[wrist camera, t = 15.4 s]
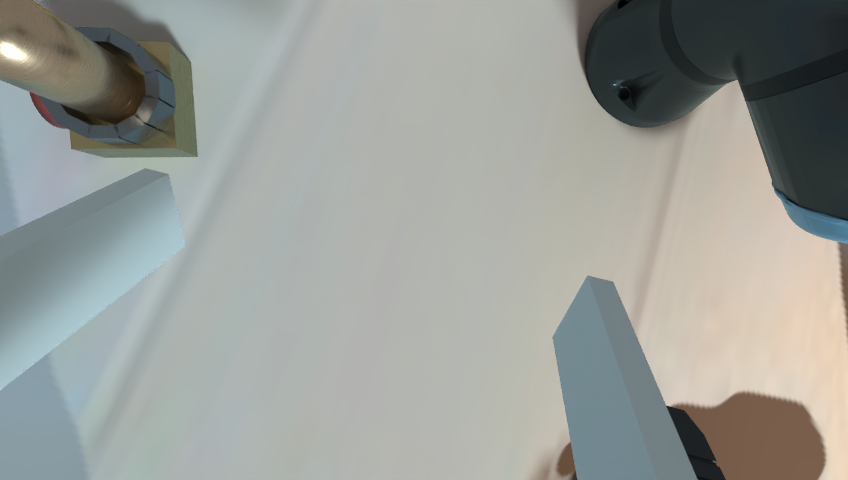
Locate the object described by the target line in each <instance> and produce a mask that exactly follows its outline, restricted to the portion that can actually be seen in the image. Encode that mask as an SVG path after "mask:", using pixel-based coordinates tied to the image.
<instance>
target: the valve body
mask: <svg viewBox="0 0 848 480" xmlns="http://www.w3.org/2000/svg"><path fill="white" fill-rule="evenodd" d="M75 29H76V30H77V31H79V32H80V33H82V34H83V35H84V36H86V37H87V38H89V39H90V40H92V41H93V42H95V43H96V44H98V45H99V46H101V47H102V48H104V49H105V50H107V51H108V52H110V53H111V54H113V55H114V56H115V57H117V58H118V59H120V60H121V61H123V62H124V63H126V64H127V65H129V66H130V67H132V68H133V69H135V70H136V71H138V72H139V73H140V74H141V75H143V76H144V79H145V92H146V96H145V98H144V100H143V101H142V103H141V105H140V107H139V109H138V110H137V112H136V114H135V115H133V116H131V117H130V118H128V119H126V120H124V121H122V122H120V123H118V124H117V125H114V124H111V123H108V122H105V121H103V120H100V119H98V118H95V117H93V116H90V115H88V114H85V113H83V112H80V111H78V110H75V109H73V108H70V107H67V106H65V105H62V104H60V103H57V102H55V101H52V100H50V99H47V98H45V97H42V96H40V95H37V94H34V93H32V92H30V96H31V98H32V101H33V103H34V105H35V107H36V109H37V110H38V112H39V113H40V114H41V115H42V117H43V118H44V119H45V120H46V121H48V122H49V123H50V124H52V125H54V126H56V127H58V128H63V129H69V130H70V140H71V149H73V150H77V151H81V152H85V153H89V154H93V155H97V156H101V157H105V158H106V157H198V156H197V142H196V128H195V114H194V100H193V86H192V72H191V62H190V61H189V60H188V59H187V58H186V57H184V56H183V55H182V54H181V53H180V52H179V51H178V50H177V49H176V48H175V47H174V46H173V45H171V44H170V43H169V42H158V41H133V40H131V39H129V38H127V37H126V36H124V35H122V34H120V33H118V32H117V31H115V30H113V29H112V30H111V29H110V28H89V27H79V29H78V28H75Z"/></svg>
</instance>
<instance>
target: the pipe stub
mask: <svg viewBox="0 0 848 480" xmlns="http://www.w3.org/2000/svg"><path fill="white" fill-rule="evenodd" d="M0 80H2V81H4V82H7V83H9V84H12V85H14V86H17V87H19V88H22V89H24V90H27V91H29V92H32V93H34V94H37V95H40V96H42V97H45V98H47V99H50V100H52V101H55V102H57V103H60V104H62V105H65V106H67V107H70V108H73V109H75V110H78V111H80V112H83V113H85V114H88V115H90V116H93V117H95V118H98V119H100V120H103V121H105V122H108V123H111V124H114V125H117V124H118V123H120V122H122V121H124V120H126V119H128V118H130V117H131V116H133V115H135V114H136V112H137V110H138V109H139V107H140V105H141V103H142V101H143V100H144V98H145V96H146V92H145V79H144V76H143V75H141V74H140V73H139V72H138V71H136V70H135V69H133V68H132V67H130V66H129V65H127V64H126V63H124V62H123V61H121V60H120V59H118V58H117V57H115V56H114V55H113V54H111V53H110V52H108V51H107V50H105V49H104V48H102V47H101V46H99V45H98V44H96V43H95V42H93V41H92V40H90V39H89V38H87V37H86V36H84V35H83V34H82V33H80V32H79V31H77V30H76V29H74V28H73V27H71V26H70V25H68V24H67V23H65V22H64V21H62V20H61V19H59V18H58V17H56V16H55V15H53V14H52V13H51V12H49V11H48V10H46V9H45V8H43V7H42V6H40V5H39V4H37V3H36V2H34V1H33V0H0Z"/></svg>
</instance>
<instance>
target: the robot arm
mask: <svg viewBox="0 0 848 480" xmlns="http://www.w3.org/2000/svg"><path fill="white" fill-rule="evenodd" d="M585 61H586V71H587V76H588V80H589V83H590V86H591V89H592V91H593V93H594V95H595V97H596V98H597V100H598V101H599V103H600V104H601V105H602V106H603V108H604V109H605V110H606V111H607V112H608V113H609V114H611V115H612V116H613V117H615V118H616V119H618V120H619V121H621V122H623V123H626V124H628V125H631V126H636V127H654V126H658V125H662V124H665V123H668V122H671V121H673V120H676V119H678V118H680V117H682V116H684V115H686V114H688V113H689V112H691V111H692V110H693V109H694V108H696V107H697V106H698V105H700V104H701V103H702V102H704V101H705V100H706V99H707V98H709V97H710V96H711V95H713V94H714V93H715V92H716V91H718V90H719V89H720V88H722V87H723V86H724V85H725V84H727V83H729V82H732V81H735V80H737V79H738V82H739V85H740V87H741V90H742V93H743V96H744V98H745V101H746V104H747V107H748V110H749V113H750V116H751V119H752V122H753V125H754V128H755V131H756V134H757V137H758V140H759V143H760V146H761V149H762V152H763V155H764V158H765V161H766V164H767V167H768V170H769V173H770V176H771V179H772V186H773V187H774V191H775V193H776V194H777V196H778V197H779V198H780V199H781V201H782V203H783V205H784V207H785V209H786V211H787V214H788V216H789V217H790V218H791V220H792V221H793V222H794V223H795V224H796V225H797V226H799V227H800V228H801V229H803V230H805V231H807V232H809V233H811V234H813V235H816V236H819V237H822V238H825V239H829V240H833V241H838V242H843V243H848V0H616V1H615V2H613V3H612V4H611V5H610V6H609V7H608V8H607V9H606V10H605V11H604V12H603V13H602V14H601V15H600V16H599V17H598V19H597V20H596V22H595V24H594V25H593V27H592V30H591V32H590V35H589V38H588V42H587V46H586V57H585ZM184 246H186V244H185V240H184V236H183V232H182V228H181V224H180V219H179V215H178V211H177V207H176V203H175V199H174V195H173V191H172V187H171V182H170V178H169V174H166V173H162V172H158V171H154V170H149V169H143V170H141V171H139V172H136V173H134V174H132V175H130V176H128V177H126V178H124V179H122V180H119V181H117V182H115V183H113V184H111V185H109V186H107V187H105V188H102V189H100V190H98V191H96V192H94V193H92V194H90V195H87V196H85V197H83V198H81V199H79V200H77V201H75V202H73V203H70V204H68V205H66V206H64V207H62V208H60V209H58V210H56V211H53V212H51V213H49V214H47V215H45V216H43V217H41V218H38V219H36V220H34V221H32V222H30V223H28V224H26V225H24V226H21V227H19V228H17V229H15V230H13V231H11V232H9V233H7V234H4V235H2V236H0V390H1V389H3V388H4V387H5V386H6V385H8V384H9V383H10V382H11V381H13V380H14V379H15V378H17V377H18V376H19V375H20V374H22V373H23V372H24V371H26V370H27V369H28V368H29V367H31V366H32V365H33V364H35V363H36V362H37V361H38V360H40V359H41V358H42V357H44V356H45V355H46V354H47V353H49V352H50V351H51V350H52V349H54V348H55V347H56V346H58V345H59V344H60V343H61V342H63V341H64V340H65V339H67V338H68V337H69V336H70V335H72V334H73V333H74V332H76V331H77V330H78V329H79V328H81V327H82V326H83V325H85V324H86V323H87V322H88V321H90V320H91V319H92V318H93V317H95V316H96V315H97V314H99V313H100V312H101V311H102V310H104V309H105V308H106V307H108V306H109V305H110V304H111V303H113V302H114V301H115V300H117V299H118V298H119V297H120V296H122V295H123V294H124V293H126V292H127V291H128V290H129V289H131V288H132V287H133V286H134V285H136V284H137V283H138V282H140V281H141V280H142V279H143V278H145V277H146V276H147V275H149V274H150V273H151V272H152V271H154V270H155V269H156V268H158V267H159V266H160V265H161V264H163V263H164V262H165V261H167V260H168V259H169V258H170V257H172V256H173V255H174V254H175V253H177V252H178V251H179V250H181V249H182V248H183V247H184ZM553 342H554V348H555V353H556V359H557V365H558V371H559V376H560V382H561V388H562V394H563V399H564V405H565V411H566V417H567V422H568V428H569V434H570V440H571V445H572V451H573V457H574V462H575V468H576V474H577V480H726V479H725V477H724V475H723V473H722V471H721V469H720V467H718V466H717V465H716V462H717V461H716V459H715V457H714V455H713V453H712V451H711V449H710V446H709V444H708V442H707V440H706V438H705V436H704V434H703V433H702V432H701V431H700V429H699V428H698V427H697V426H696V425H695V423H694V422H693V421H692V420H691V419H690V417H689V416H688V415H687V413H686V412H685V411H684V410H681V409H677V408H673V407H669V406H666V404H665V402H664V400H663V397H662V395H661V393H660V390H659V388H658V386H657V383H656V381H655V379H654V376H653V374H652V372H651V369H650V367H649V365H648V362H647V360H646V358H645V355H644V353H643V351H642V348H641V346H640V344H639V341H638V339H637V336H636V334H635V332H634V329H633V327H632V325H631V322H630V320H629V318H628V315H627V313H626V311H625V308H624V306H623V304H622V301H621V299H620V297H619V294H618V292H617V290H616V287H615V285H614V283H613V282H612V281H608V280H604V279H599V278H595V277H591V276H587V277H586V279H585V281H584V283H583V284H582V286H581V288H580V290H579V291H578V293H577V295H576V297H575V299H574V300H573V302H572V304H571V306H570V307H569V309H568V311H567V313H566V314H565V316H564V318H563V320H562V321H561V323H560V325H559V327H558V328H557V330H556V332H555V334H554V335H553Z"/></svg>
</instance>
